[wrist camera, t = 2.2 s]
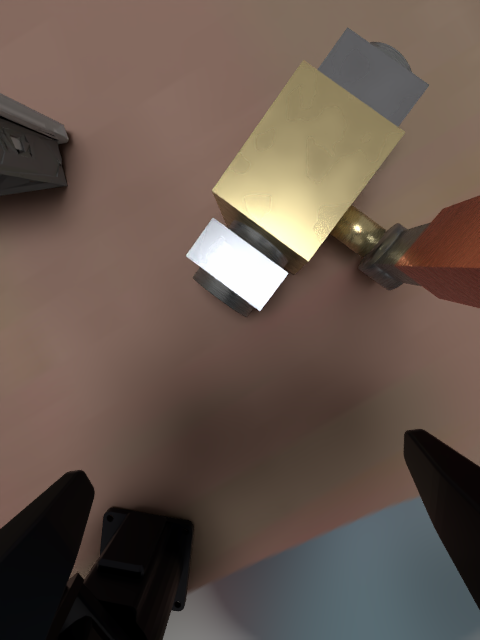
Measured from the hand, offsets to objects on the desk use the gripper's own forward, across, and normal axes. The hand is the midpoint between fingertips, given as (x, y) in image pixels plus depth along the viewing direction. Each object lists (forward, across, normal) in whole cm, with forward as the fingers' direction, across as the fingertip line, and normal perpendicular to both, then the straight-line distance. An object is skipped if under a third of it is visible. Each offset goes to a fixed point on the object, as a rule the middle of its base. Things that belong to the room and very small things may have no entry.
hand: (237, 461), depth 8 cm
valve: (+15, -5, -4) cm, 16 cm away
